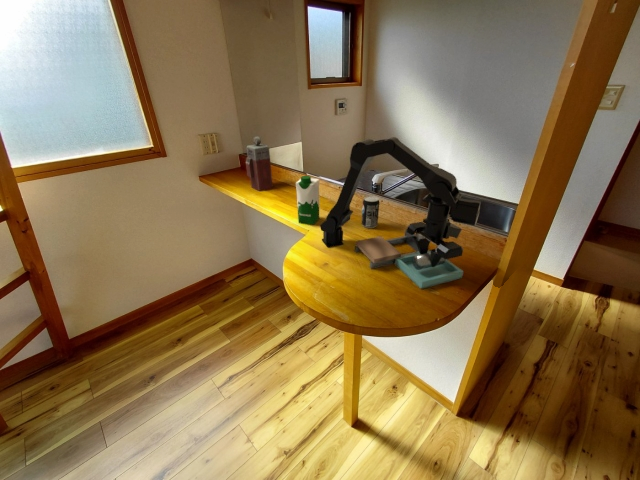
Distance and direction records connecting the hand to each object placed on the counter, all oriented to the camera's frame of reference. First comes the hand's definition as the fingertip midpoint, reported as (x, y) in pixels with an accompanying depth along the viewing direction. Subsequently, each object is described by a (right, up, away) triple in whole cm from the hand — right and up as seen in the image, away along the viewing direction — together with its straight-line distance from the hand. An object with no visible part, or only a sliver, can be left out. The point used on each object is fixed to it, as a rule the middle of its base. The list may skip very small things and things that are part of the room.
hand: (428, 262), depth 94 cm
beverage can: (-13, +13, +31) cm, 37 cm away
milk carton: (-39, +15, +37) cm, 56 cm away
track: (-10, +2, +11) cm, 15 cm away
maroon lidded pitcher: (-68, +36, +76) cm, 108 cm away
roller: (0, +1, 0) cm, 1 cm away
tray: (0, -3, +2) cm, 3 cm away
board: (-14, +1, +10) cm, 17 cm away
